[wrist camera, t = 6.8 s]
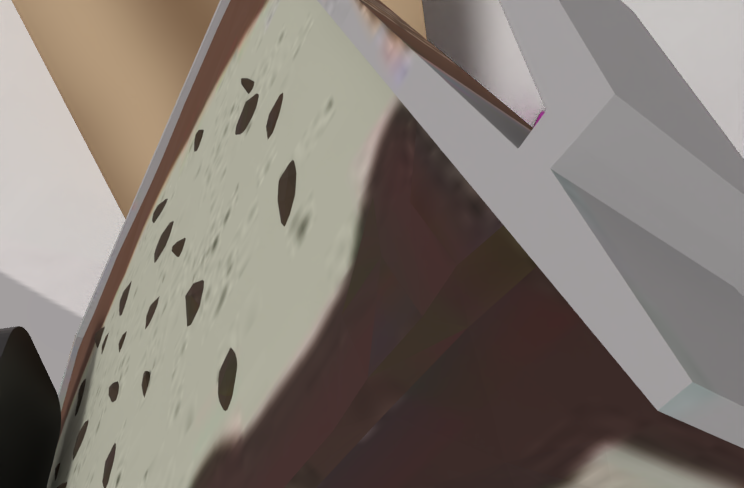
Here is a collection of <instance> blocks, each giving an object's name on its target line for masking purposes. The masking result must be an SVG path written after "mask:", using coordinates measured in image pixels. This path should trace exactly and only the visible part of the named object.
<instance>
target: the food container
mask: <svg viewBox="0 0 744 488" xmlns="http://www.w3.org/2000/svg"><path fill="white" fill-rule="evenodd" d="M499 2H500V4H501V7H502V9H503V11H504V14H505V16H506V18H507V21H508V23H509V25H510V28H511V30H512V32H513V35H514V37H515V39H516V42H517V44H518V46H519V48H520V51H521V53H522V55H523V58H524V60H525V62H526V65H527V67H528V69H529V72H530V74H531V76H532V79H533V81H534V83H535V86H536V88H537V90H538V93H539V95H540V97H541V100H542V102H543V104H544V107H545V109H546V112H545V113H544V114H543V116H542V117H541V118H540V120H539V121H538V123H537V124H536V125H535V127H534V128H532V127H531V126H530V125H529V124H528V123H526V122H525V121H524V120H523V119H522V118H520V117H519V116H518V115H517V114H516V113H514V112H513V111H512V110H511V109H510V108H508V107H507V106H506V105H505V104H504V103H502V102H501V101H500V100H499V99H498V98H496V97H495V96H494V95H493V94H491V93H490V92H489V91H488V90H487V89H485V88H484V87H483V86H482V85H481V84H479V83H478V82H477V81H476V80H475V79H473V78H472V77H471V76H470V75H469V74H467V73H466V72H465V71H464V70H463V69H461V68H460V67H459V66H458V65H457V64H455V63H454V62H453V61H452V60H451V59H449V58H448V57H447V56H446V55H445V54H443V53H442V52H441V51H440V50H439V49H437V48H436V47H435V46H434V45H433V44H431V43H430V42H429V41H428V40H427V39H425V38H424V37H423V36H422V35H421V34H419V33H418V32H417V31H416V30H415V29H413V28H412V27H411V26H410V25H409V24H407V23H406V22H405V21H404V20H403V19H401V18H400V17H399V16H398V15H397V14H395V13H394V12H393V11H392V10H391V9H389V8H388V7H387V6H386V5H385V4H383V3H382V2H381V1H380V0H220V2H219V4H218V6H217V9H216V11H215V13H214V16H213V18H212V20H211V23H210V25H209V27H208V30H207V32H206V34H205V36H204V39H203V41H202V43H201V46H200V48H199V50H198V53H197V55H196V57H195V60H194V62H193V64H192V67H191V69H190V71H189V74H188V76H187V78H186V80H185V83H184V85H183V87H182V90H181V92H180V94H179V97H178V99H177V101H176V104H175V106H174V108H173V111H172V113H171V115H170V118H169V120H168V122H167V125H166V127H165V129H164V131H163V134H162V136H161V138H160V141H159V143H158V145H157V148H156V150H155V152H154V155H153V157H152V159H151V162H150V164H149V166H148V169H147V171H146V173H145V176H144V178H143V180H142V182H141V185H140V187H139V189H138V192H137V194H136V196H135V199H134V201H133V203H132V206H131V208H130V210H129V213H128V215H127V217H126V220H125V222H124V224H123V226H122V229H121V231H120V233H119V236H118V238H117V240H116V243H115V245H114V247H113V250H112V252H111V254H110V257H109V259H108V261H107V264H106V266H105V268H104V271H103V273H102V275H101V277H100V280H99V282H98V284H97V287H96V289H95V291H94V294H93V296H92V298H91V301H90V303H89V305H88V308H87V310H86V312H85V315H84V317H83V319H82V322H81V324H80V326H79V329H78V331H77V333H76V336H75V339H74V342H73V346H72V349H71V352H70V356H69V359H68V363H67V366H66V369H65V373H64V376H63V380H62V383H61V386H60V390H59V393H58V398H59V402H60V408H61V430H60V436H59V440H58V444H57V448H56V452H55V456H54V460H53V464H52V468H51V472H50V476H49V480H48V484H47V488H744V159H743V158H742V157H741V155H740V154H739V152H738V151H737V150H736V148H735V147H734V146H733V144H732V143H731V142H730V140H729V139H728V138H727V136H726V135H725V133H724V132H723V131H722V129H721V128H720V127H719V125H718V124H717V123H716V121H715V120H714V119H713V117H712V116H711V115H710V113H709V112H708V111H707V109H706V108H705V107H704V105H703V104H702V103H701V101H700V100H699V99H698V97H697V96H696V95H695V93H694V92H693V91H692V89H691V88H690V87H689V85H688V84H687V83H686V81H685V80H684V79H683V77H682V76H681V75H680V73H679V72H678V71H677V69H676V68H675V67H674V65H673V64H672V63H671V61H670V60H669V59H668V57H667V56H666V55H665V53H664V52H663V51H662V49H661V48H660V47H659V45H658V44H657V43H656V41H655V40H654V39H653V37H652V36H651V35H650V33H649V32H648V30H647V29H646V28H645V26H644V25H643V24H642V22H641V21H640V20H639V18H638V17H637V16H636V14H635V13H634V12H633V11H632V10H631V9H630V8H629V7H628V6H626V5H625V4H624V3H623V2H622V1H621V0H499Z"/></svg>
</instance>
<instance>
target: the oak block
mask: <svg viewBox="0 0 744 488" xmlns="http://www.w3.org/2000/svg"><path fill="white" fill-rule="evenodd" d="M380 1H381V2H382V3H383V4H385V5H386V6H387V7H388V8H389V9H391V10H392V11H393V12H394V13H395V14H397V15H398V16H399V17H400V18H401V19H403V20H404V21H405V22H406V23H407V24H409V25H410V26H411V27H412V28H413V29H415V30H416V31H417V32H418V33H419V34H421V35H422V36H423V37H424V38H425V39H427V37H426V29H425V22H424V14H423V6H422V0H380ZM12 2H13V4H14V6H15V8H16V10H17V11H18V13H19V15H20V17H21V19H22V21H23V23H24V25H25V27H26V29H27V31H28V33H29V35H30V36H31V38H32V40H33V42H34V44H35V46H36V48H37V50H38V52H39V54H40V56H41V58H42V59H43V61H44V63H45V65H46V67H47V69H48V71H49V73H50V75H51V77H52V79H53V81H54V83H55V84H56V86H57V88H58V90H59V92H60V94H61V96H62V98H63V100H64V102H65V104H66V106H67V108H68V109H69V111H70V113H71V115H72V117H73V119H74V121H75V123H76V125H77V127H78V129H79V131H80V133H81V134H82V136H83V138H84V140H85V142H86V144H87V146H88V148H89V150H90V152H91V154H92V156H93V158H94V159H95V161H96V163H97V165H98V167H99V169H100V171H101V173H102V175H103V177H104V179H105V181H106V182H107V184H108V186H109V188H110V190H111V192H112V194H113V196H114V198H115V200H116V202H117V204H118V206H119V207H120V209H121V211H122V213H123V215H124V217H125V219H126V217H127V215H128V213H129V210H130V208H131V206H132V203H133V201H134V199H135V196H136V194H137V192H138V189H139V187H140V185H141V182H142V180H143V178H144V176H145V173H146V171H147V169H148V166H149V164H150V162H151V159H152V157H153V155H154V152H155V150H156V148H157V145H158V143H159V141H160V138H161V136H162V134H163V131H164V129H165V127H166V125H167V122H168V120H169V118H170V115H171V113H172V111H173V108H174V106H175V104H176V101H177V99H178V97H179V94H180V92H181V90H182V87H183V85H184V83H185V80H186V78H187V76H188V74H189V71H190V69H191V67H192V64H193V62H194V60H195V57H196V55H197V53H198V50H199V48H200V46H201V43H202V41H203V39H204V36H205V34H206V32H207V30H208V27H209V25H210V23H211V20H212V18H213V16H214V13H215V11H216V9H217V6H218V4H219V2H220V0H12Z"/></svg>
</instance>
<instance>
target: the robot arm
mask: <svg viewBox="0 0 744 488" xmlns="http://www.w3.org/2000/svg"><path fill="white" fill-rule="evenodd" d="M60 430H61V408H60V402H59V398H58V395H57V392H56V390H55V388H54V386H53V384H52V382H51V380H50V377H49V376H48V373H47V371H46V369H45V367H44V365H43V363H42V361H41V358H40V356H39V354H38V352H37V350H36V348H35V346H34V344H33V342H32V340H31V337H30V336H29V334H28V332H27V331H26V330H25V329H24V328H23V327H10V328H4V329H0V488H47V484H48V480H49V476H50V472H51V468H52V464H53V460H54V456H55V452H56V448H57V444H58V440H59V436H60Z"/></svg>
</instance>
